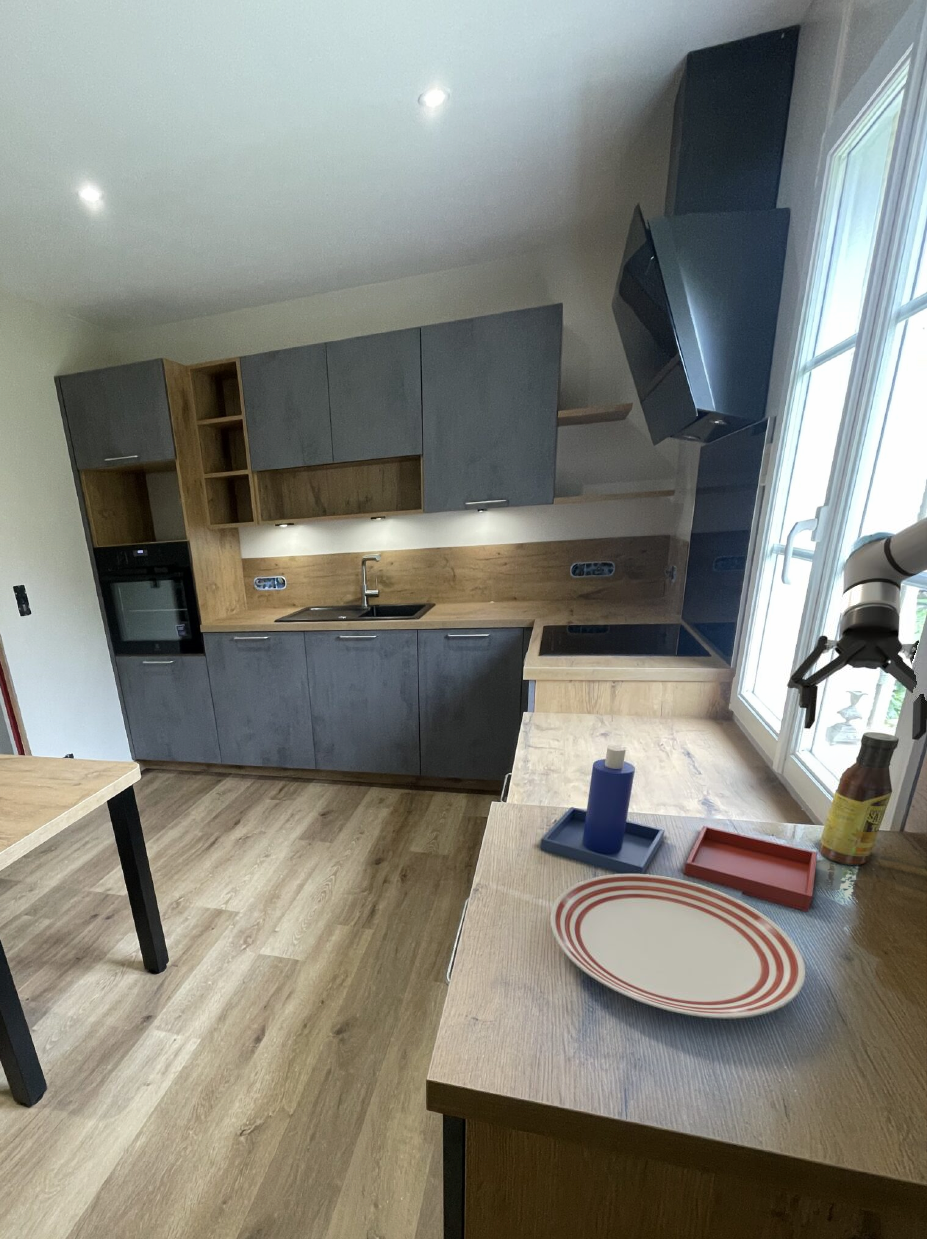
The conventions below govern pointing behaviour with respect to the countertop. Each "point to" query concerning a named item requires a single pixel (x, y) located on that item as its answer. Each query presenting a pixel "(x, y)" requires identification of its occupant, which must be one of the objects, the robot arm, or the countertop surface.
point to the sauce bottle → (860, 802)
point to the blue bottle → (608, 802)
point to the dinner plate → (677, 946)
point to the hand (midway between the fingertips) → (862, 730)
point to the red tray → (754, 867)
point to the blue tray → (629, 860)
